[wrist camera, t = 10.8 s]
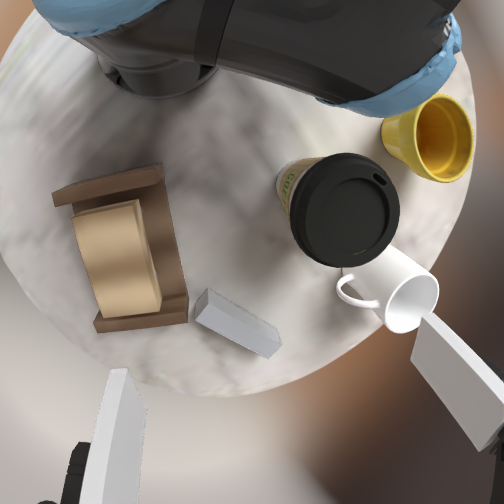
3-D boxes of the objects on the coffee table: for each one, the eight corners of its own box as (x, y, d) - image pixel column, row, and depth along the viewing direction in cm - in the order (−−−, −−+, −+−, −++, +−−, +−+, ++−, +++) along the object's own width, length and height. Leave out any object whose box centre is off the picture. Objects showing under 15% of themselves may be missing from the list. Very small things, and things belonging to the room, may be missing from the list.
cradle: (71, 184, 32) (51, 193, 27) (161, 163, 33) (153, 168, 28) (108, 310, 39) (97, 333, 34) (189, 299, 40) (187, 322, 35)
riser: (195, 303, 41) (194, 320, 37) (208, 287, 40) (208, 303, 36) (263, 341, 45) (268, 359, 41) (276, 328, 44) (282, 345, 40)
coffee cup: (245, 199, 36) (271, 242, 22) (288, 129, 34) (341, 128, 20) (310, 236, 39) (363, 292, 25) (351, 172, 37) (423, 198, 23)
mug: (317, 292, 43) (350, 344, 32) (324, 235, 39) (365, 275, 28) (386, 286, 44) (429, 329, 33) (396, 234, 41) (448, 268, 30)
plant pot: (405, 84, 33) (453, 79, 24) (437, 146, 37) (484, 155, 28) (354, 120, 34) (397, 120, 25) (391, 184, 38) (436, 201, 29)
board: (81, 211, 30) (71, 218, 27) (138, 198, 30) (132, 205, 28) (109, 304, 34) (103, 318, 32) (162, 297, 35) (159, 311, 32)
